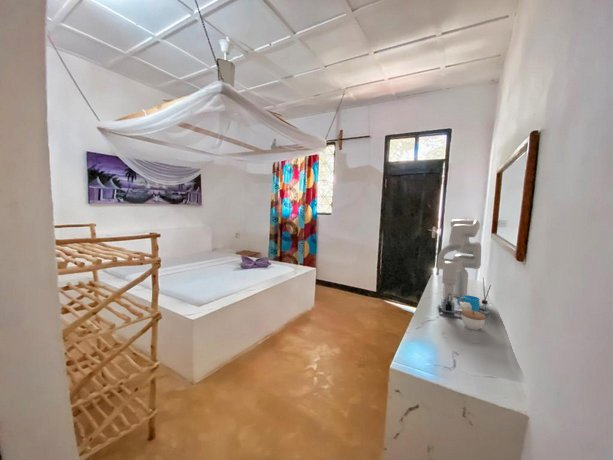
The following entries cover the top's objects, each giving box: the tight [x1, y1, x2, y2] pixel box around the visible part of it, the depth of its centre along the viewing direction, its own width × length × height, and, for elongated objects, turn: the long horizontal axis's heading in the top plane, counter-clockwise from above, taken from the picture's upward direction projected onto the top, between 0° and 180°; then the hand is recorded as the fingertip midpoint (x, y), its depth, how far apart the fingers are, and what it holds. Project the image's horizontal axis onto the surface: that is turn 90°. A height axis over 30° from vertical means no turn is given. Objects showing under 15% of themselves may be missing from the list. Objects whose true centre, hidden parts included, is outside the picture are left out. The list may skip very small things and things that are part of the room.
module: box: [440, 298, 456, 313], centre depth 153 cm, size 7×6×6 cm
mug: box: [456, 295, 480, 312], centre depth 158 cm, size 12×8×8 cm
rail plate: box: [436, 301, 472, 320], centre depth 151 cm, size 14×18×7 cm
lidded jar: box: [461, 310, 486, 331], centre depth 133 cm, size 11×11×9 cm
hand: (447, 308), depth 153 cm, fingers closed on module, 6 cm apart
